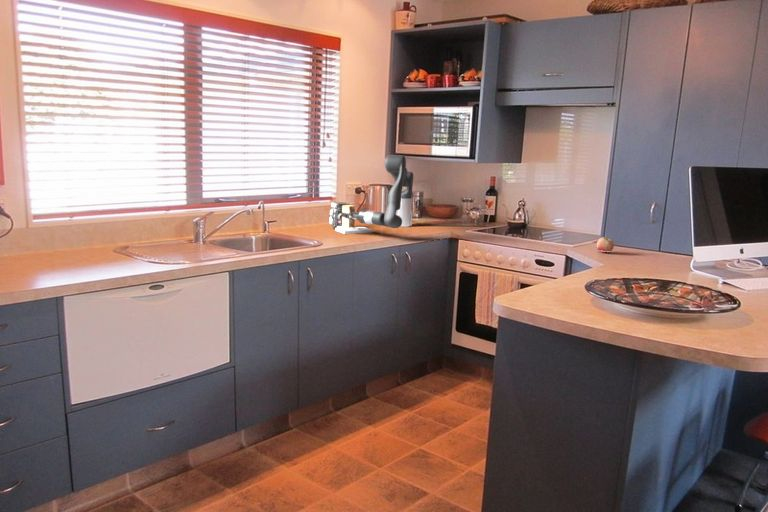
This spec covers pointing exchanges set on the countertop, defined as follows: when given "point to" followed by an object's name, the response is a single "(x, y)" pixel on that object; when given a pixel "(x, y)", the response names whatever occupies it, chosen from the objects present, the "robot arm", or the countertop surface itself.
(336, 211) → the camera
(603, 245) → the fruit
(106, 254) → the countertop surface
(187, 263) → the countertop surface
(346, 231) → the baseplate
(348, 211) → the light wooden block
